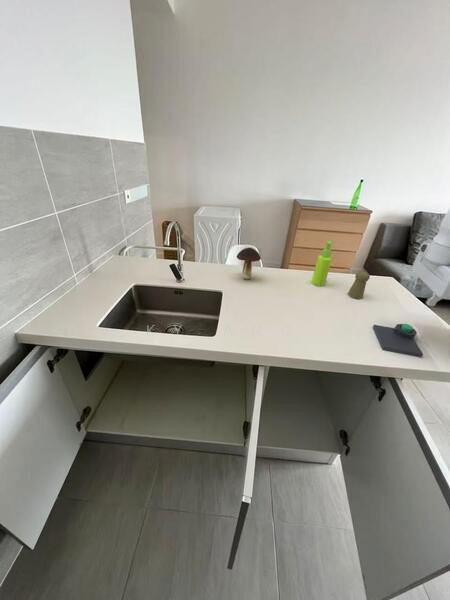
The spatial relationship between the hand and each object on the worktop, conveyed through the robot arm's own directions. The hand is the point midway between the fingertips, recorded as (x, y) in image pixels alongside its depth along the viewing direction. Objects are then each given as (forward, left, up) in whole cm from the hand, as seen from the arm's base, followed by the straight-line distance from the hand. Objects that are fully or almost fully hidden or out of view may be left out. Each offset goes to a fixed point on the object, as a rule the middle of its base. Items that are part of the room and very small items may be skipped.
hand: (422, 297), depth 75 cm
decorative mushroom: (+58, -25, -15) cm, 65 cm away
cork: (+10, -25, -15) cm, 31 cm away
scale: (+3, +4, -15) cm, 16 cm away
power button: (0, +1, -13) cm, 13 cm away
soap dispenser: (+25, -32, -15) cm, 43 cm away
